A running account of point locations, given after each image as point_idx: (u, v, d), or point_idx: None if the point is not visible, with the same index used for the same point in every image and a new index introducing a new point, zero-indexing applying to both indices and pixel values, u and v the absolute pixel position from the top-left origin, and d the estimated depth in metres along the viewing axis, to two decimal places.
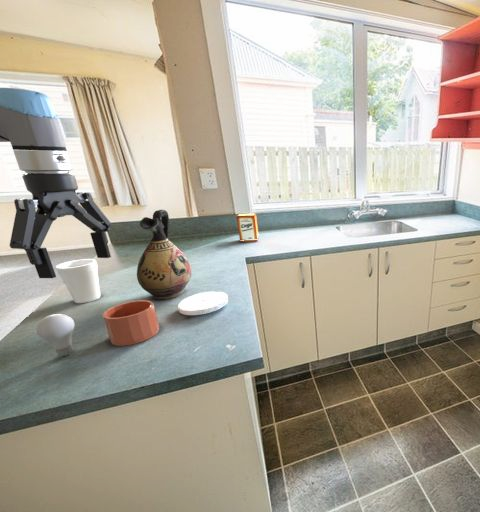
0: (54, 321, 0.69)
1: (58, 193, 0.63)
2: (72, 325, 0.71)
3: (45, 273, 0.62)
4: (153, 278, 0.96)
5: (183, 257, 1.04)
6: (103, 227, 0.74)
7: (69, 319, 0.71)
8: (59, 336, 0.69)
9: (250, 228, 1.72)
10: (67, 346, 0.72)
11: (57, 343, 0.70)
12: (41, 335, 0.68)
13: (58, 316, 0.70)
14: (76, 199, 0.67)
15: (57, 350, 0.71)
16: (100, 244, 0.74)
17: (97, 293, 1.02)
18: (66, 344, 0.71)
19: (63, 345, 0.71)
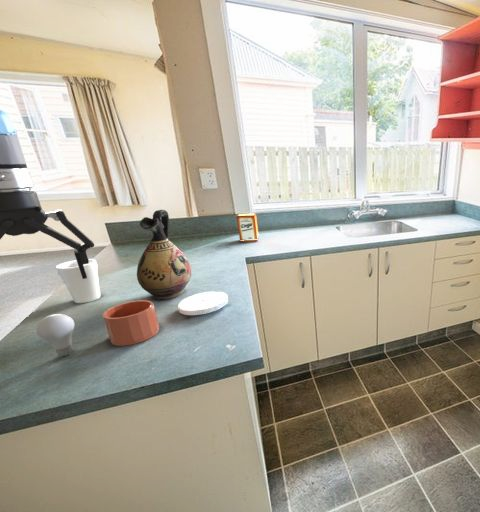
0: (54, 321, 0.69)
1: (12, 212, 0.61)
2: (72, 325, 0.71)
3: None
4: (153, 278, 0.96)
5: (183, 257, 1.04)
6: (79, 247, 0.69)
7: (69, 319, 0.71)
8: (59, 336, 0.69)
9: (250, 228, 1.72)
10: (67, 346, 0.72)
11: (57, 343, 0.70)
12: (41, 335, 0.68)
13: (58, 316, 0.70)
14: (39, 218, 0.64)
15: (57, 350, 0.71)
16: (78, 264, 0.70)
17: (97, 293, 1.02)
18: (66, 344, 0.71)
19: (63, 345, 0.71)
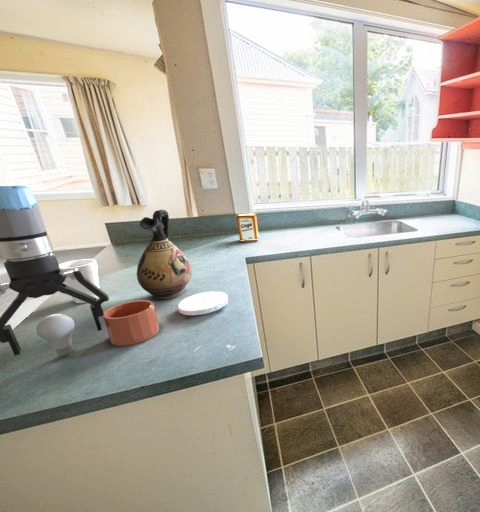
0: (54, 321, 0.69)
1: (33, 276, 0.65)
2: (72, 325, 0.71)
3: None
4: (153, 278, 0.96)
5: (183, 257, 1.04)
6: (95, 302, 0.73)
7: (69, 319, 0.71)
8: (59, 336, 0.69)
9: (250, 228, 1.72)
10: (67, 346, 0.72)
11: (57, 343, 0.70)
12: (41, 335, 0.68)
13: (58, 316, 0.70)
14: (58, 279, 0.68)
15: (57, 350, 0.71)
16: None
17: None
18: (66, 344, 0.71)
19: (63, 345, 0.71)
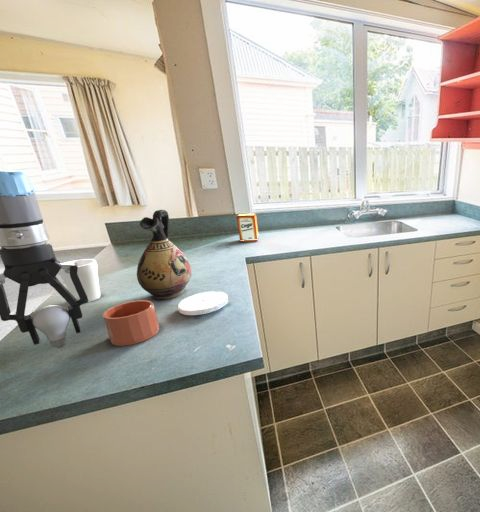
0: (50, 312, 0.68)
1: (28, 264, 0.64)
2: (68, 317, 0.71)
3: None
4: (153, 278, 0.96)
5: (183, 257, 1.04)
6: (74, 303, 0.71)
7: (66, 311, 0.71)
8: (54, 327, 0.68)
9: (250, 228, 1.72)
10: (61, 338, 0.71)
11: (52, 334, 0.69)
12: (36, 326, 0.67)
13: (55, 307, 0.69)
14: (54, 268, 0.67)
15: (51, 342, 0.70)
16: None
17: (97, 293, 1.02)
18: (61, 336, 0.71)
19: (57, 336, 0.70)
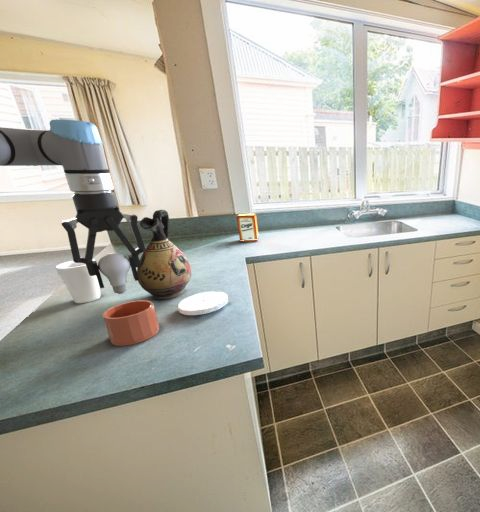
0: (114, 257, 0.73)
1: (97, 211, 0.70)
2: (129, 264, 0.76)
3: None
4: (153, 278, 0.96)
5: (183, 257, 1.04)
6: (134, 251, 0.76)
7: (127, 258, 0.76)
8: (118, 272, 0.74)
9: (250, 228, 1.72)
10: (123, 284, 0.76)
11: (115, 279, 0.74)
12: (102, 270, 0.72)
13: (118, 254, 0.74)
14: (118, 216, 0.73)
15: (114, 287, 0.75)
16: (131, 267, 0.77)
17: (97, 293, 1.02)
18: (122, 282, 0.76)
19: (120, 282, 0.75)
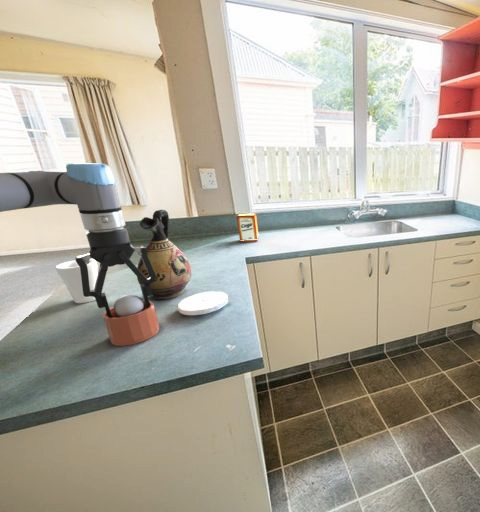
0: (129, 300, 0.77)
1: (109, 247, 0.73)
2: (142, 304, 0.80)
3: (107, 314, 0.76)
4: None
5: (183, 257, 1.04)
6: (146, 281, 0.80)
7: (140, 299, 0.80)
8: (132, 314, 0.78)
9: (250, 228, 1.72)
10: None
11: None
12: (118, 312, 0.76)
13: (131, 296, 0.78)
14: (129, 250, 0.76)
15: None
16: (143, 296, 0.81)
17: None
18: None
19: None
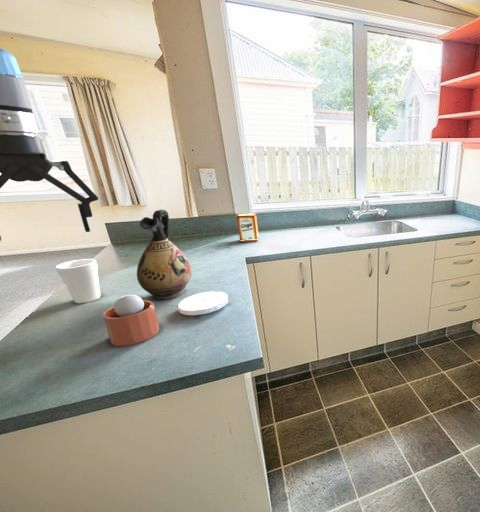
0: (129, 300, 0.77)
1: (16, 156, 0.61)
2: (143, 304, 0.80)
3: None
4: (153, 278, 0.96)
5: (183, 257, 1.04)
6: (83, 199, 0.69)
7: (140, 299, 0.80)
8: (133, 313, 0.78)
9: (250, 228, 1.72)
10: None
11: None
12: (119, 312, 0.76)
13: (132, 296, 0.79)
14: (44, 165, 0.64)
15: None
16: (81, 216, 0.70)
17: (97, 293, 1.02)
18: None
19: None
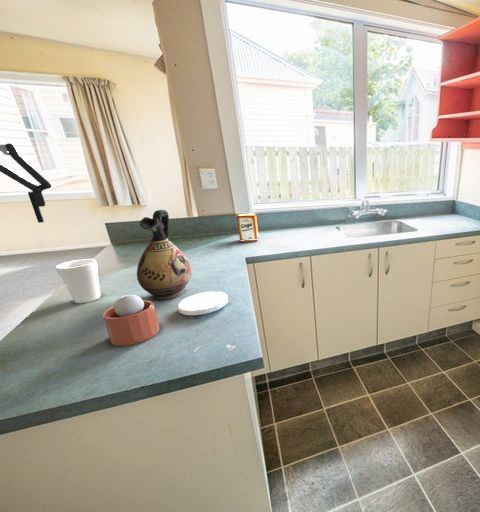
0: (129, 300, 0.77)
1: None
2: (143, 304, 0.80)
3: None
4: (153, 278, 0.96)
5: (183, 257, 1.04)
6: (33, 186, 0.64)
7: (140, 299, 0.80)
8: (133, 313, 0.78)
9: (250, 228, 1.72)
10: None
11: None
12: (119, 312, 0.76)
13: (132, 296, 0.79)
14: None
15: None
16: None
17: (97, 293, 1.02)
18: None
19: None
